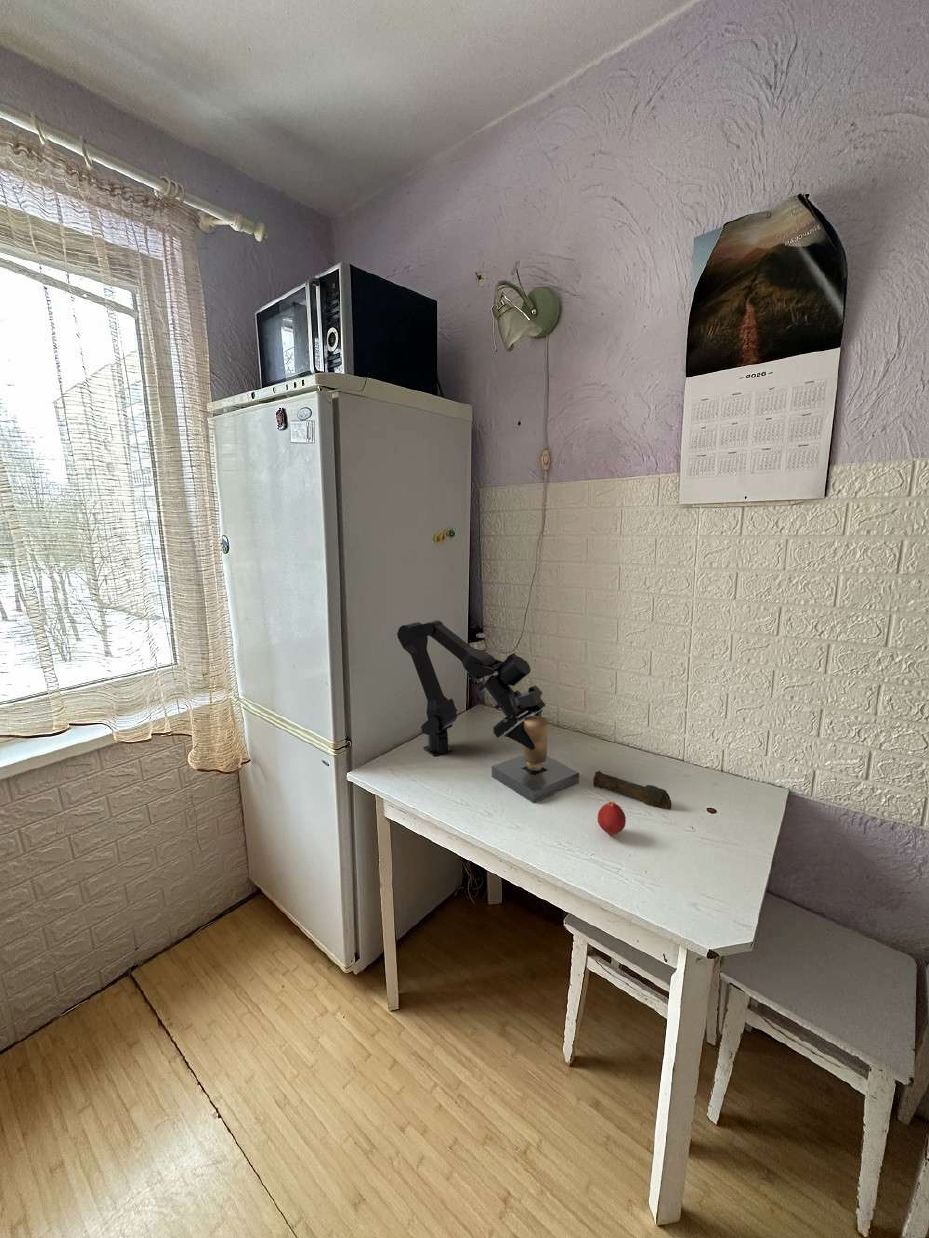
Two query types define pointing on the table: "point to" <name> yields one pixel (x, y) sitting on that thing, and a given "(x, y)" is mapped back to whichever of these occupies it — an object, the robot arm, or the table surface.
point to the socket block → (535, 778)
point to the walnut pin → (536, 742)
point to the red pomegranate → (611, 818)
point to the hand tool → (634, 790)
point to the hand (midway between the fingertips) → (539, 744)
